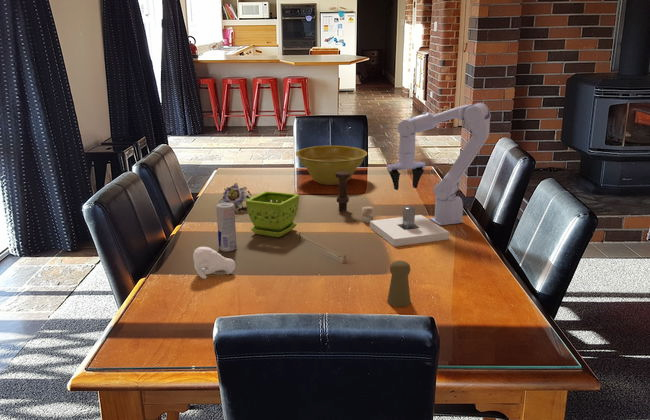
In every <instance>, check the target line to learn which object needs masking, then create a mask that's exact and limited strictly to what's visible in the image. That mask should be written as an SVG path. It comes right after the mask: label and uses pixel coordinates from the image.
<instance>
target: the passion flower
mask: <svg viewBox="0 0 650 420" xmlns="http://www.w3.org/2000/svg"><path fill="white" fill-rule="evenodd" d="M223 190H224V192H223V193H222V194H223V196H222V199H220V200H219V201H218V204H219V203H226V202H228V203H233V204H234V208H235V209H236V208H237V207H238V208H239V209H242V208H243V202H246V201H247V200H248V199H250V198H251V197H253V196H252V193H251V192H250V190H248V187H247V186H243V187H242V188H241V187H239V185H238V182H235V183H234V184H233V185H231V186H230V187H227V186H226V188H223ZM249 195H250V196H249Z"/></svg>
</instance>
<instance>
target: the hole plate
mask: <svg viewBox="0 0 650 420" xmlns="http://www.w3.org/2000/svg"><path fill="white" fill-rule="evenodd" d="M402 226H403V216H399V217H393V218H392V217H389V218H384V219H375V220H374V219H373V221H370V223H369V228H370V229H371V230H372V231H374V232H375V233H376V234H378V235H379V236H380V237H382V238H383V239H384V240H385V241H387V243H389V244H390V245H391V246H393V247H401V246H408V245H415V244H416V245H417V244H421V243H430V242H439V241H446V240H450V231H449V230H447V229H445V228H443V227H442V226H441V225H439V224H437V223H435V222H434V221H432V220H431V219H430V218H427V217H425V216H424V215H422V214H415V221H414V229H409V230H404V229H402Z"/></svg>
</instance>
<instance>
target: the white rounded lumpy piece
mask: <svg viewBox="0 0 650 420" xmlns="http://www.w3.org/2000/svg"><path fill="white" fill-rule="evenodd" d="M192 259H193V263H194V269H195V271H196V273H197V275H198V276H199V277H200V278H201V279H203V280H206V279H207V275H210V274H212V273H214V272H218V271H224V272H225V273H226V276H228V275H229V274H232V273H233V271H234V270H235V269H236V262H235V260H234V259H232V258H227V257H224V256H222V254H221V253H218V251H216V250H214V249H213V248H211V247H210V246H209V247H208V246H199V247H197V248H195V249H194V251H193V254H192Z"/></svg>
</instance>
